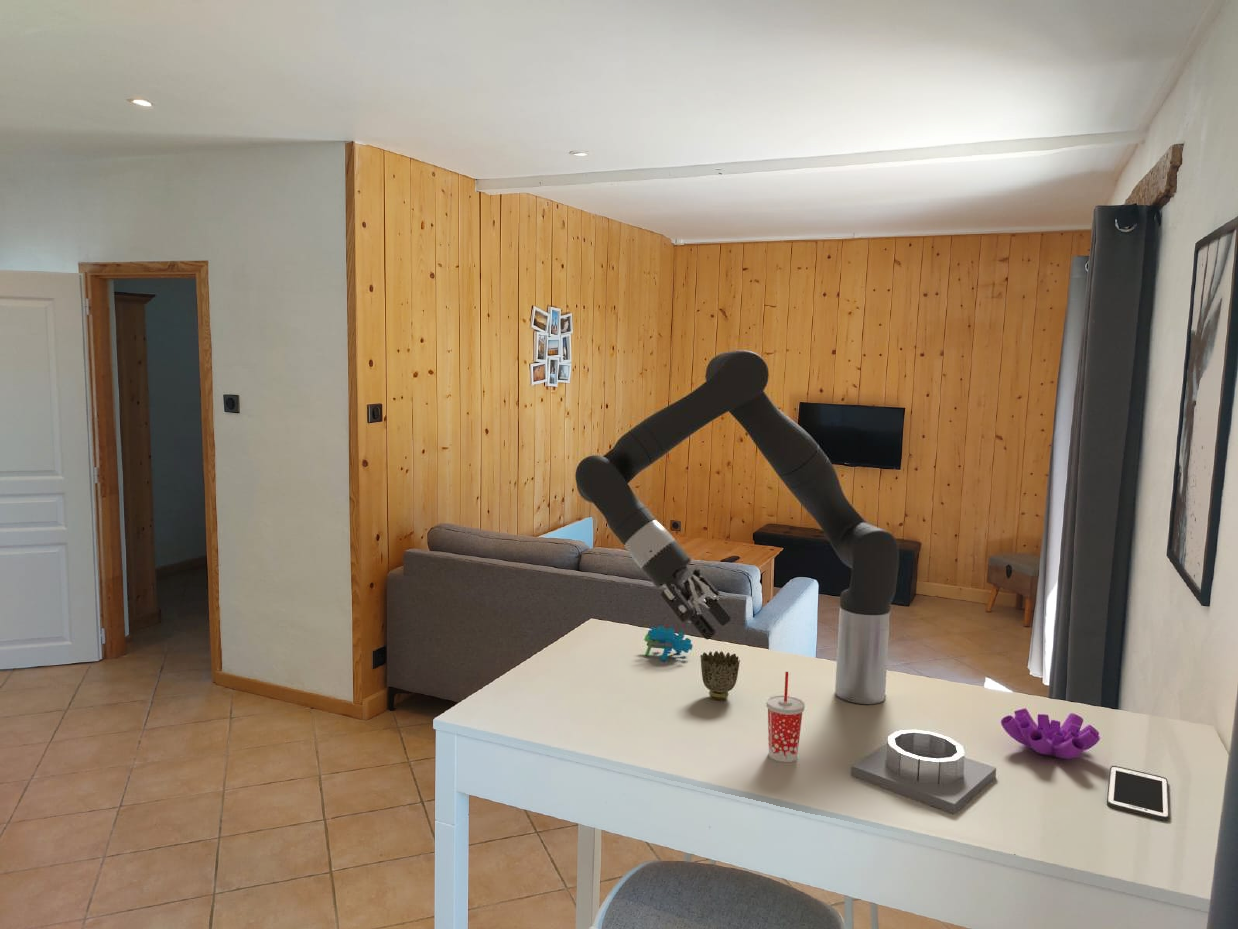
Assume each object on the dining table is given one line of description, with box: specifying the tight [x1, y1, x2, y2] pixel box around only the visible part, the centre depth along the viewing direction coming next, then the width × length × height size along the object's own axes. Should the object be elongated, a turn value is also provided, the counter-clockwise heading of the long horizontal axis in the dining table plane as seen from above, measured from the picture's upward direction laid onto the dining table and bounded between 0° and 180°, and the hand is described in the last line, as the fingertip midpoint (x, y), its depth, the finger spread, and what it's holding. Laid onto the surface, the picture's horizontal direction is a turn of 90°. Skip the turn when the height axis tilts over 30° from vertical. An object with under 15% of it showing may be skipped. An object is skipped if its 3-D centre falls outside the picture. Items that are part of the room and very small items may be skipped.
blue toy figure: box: [643, 625, 694, 662], centre depth 182 cm, size 11×6×10 cm
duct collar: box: [886, 729, 966, 785], centre depth 131 cm, size 11×11×4 cm
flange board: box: [850, 742, 997, 815], centre depth 131 cm, size 16×16×2 cm
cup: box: [700, 650, 741, 701], centre depth 160 cm, size 8×7×8 cm
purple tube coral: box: [1000, 707, 1101, 760], centre depth 140 cm, size 11×15×10 cm
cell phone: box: [1106, 765, 1170, 822], centre depth 127 cm, size 8×15×1 cm, turn 148°
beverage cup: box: [766, 671, 806, 763], centre depth 136 cm, size 6×6×14 cm
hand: (720, 629), depth 140 cm, fingers open, 8 cm apart
